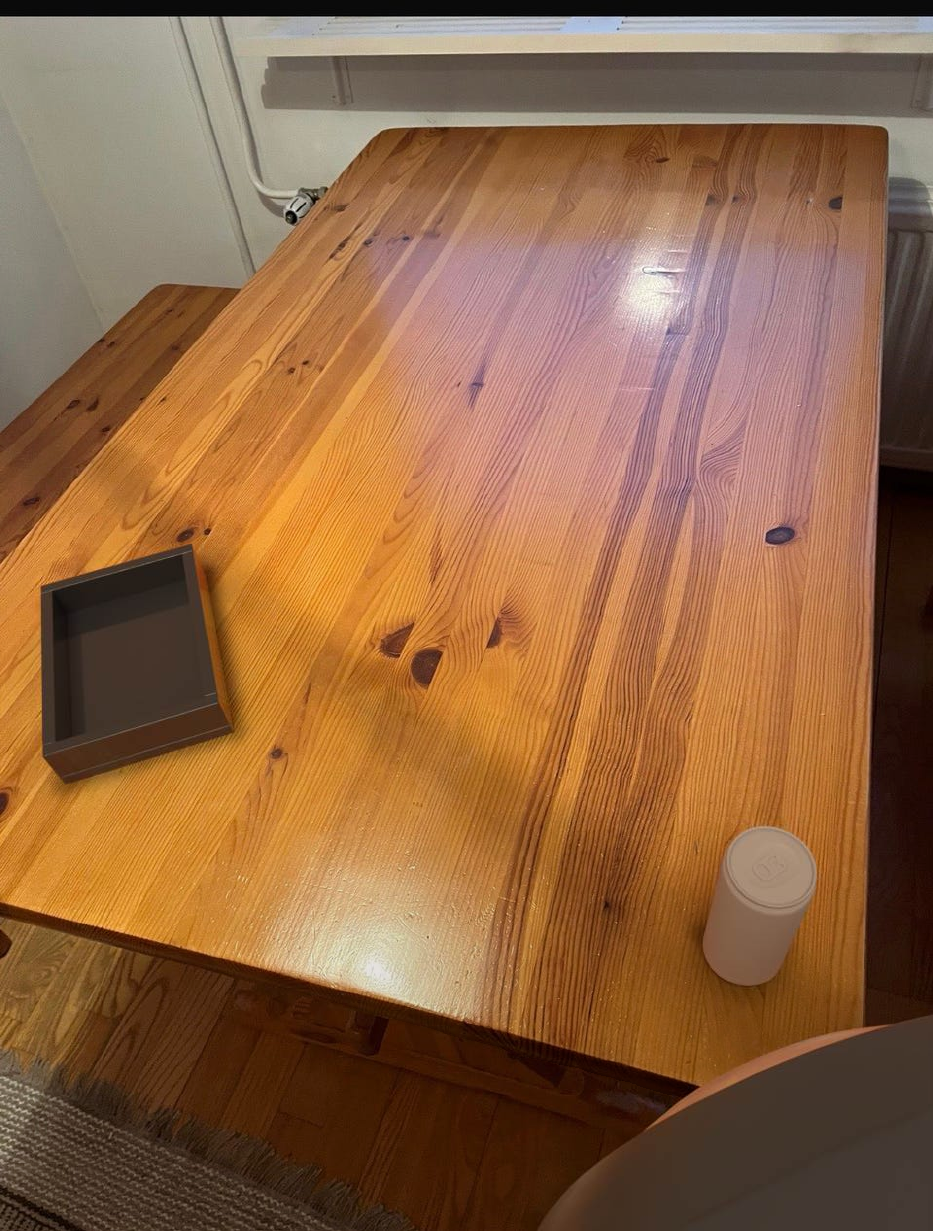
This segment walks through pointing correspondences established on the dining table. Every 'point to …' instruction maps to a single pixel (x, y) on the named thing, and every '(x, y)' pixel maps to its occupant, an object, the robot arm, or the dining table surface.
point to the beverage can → (758, 904)
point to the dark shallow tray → (129, 665)
